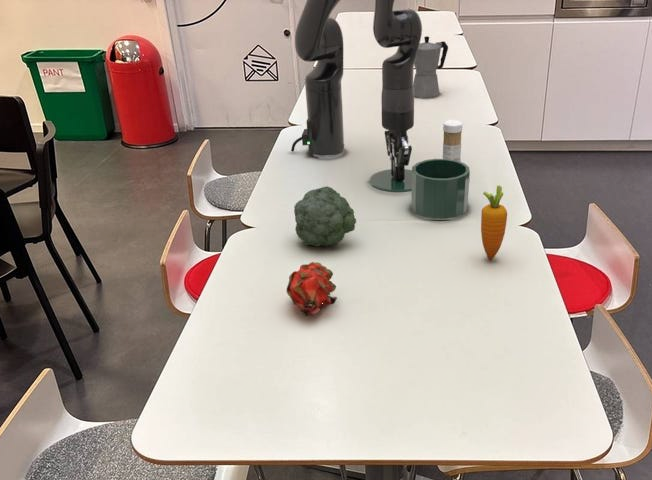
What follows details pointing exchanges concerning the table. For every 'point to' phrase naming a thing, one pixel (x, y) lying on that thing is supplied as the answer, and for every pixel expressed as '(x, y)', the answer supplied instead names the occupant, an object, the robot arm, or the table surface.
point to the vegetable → (323, 217)
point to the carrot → (493, 223)
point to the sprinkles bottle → (452, 140)
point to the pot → (440, 188)
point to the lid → (391, 180)
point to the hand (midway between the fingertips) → (397, 177)
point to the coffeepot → (428, 68)
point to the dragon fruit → (311, 287)
